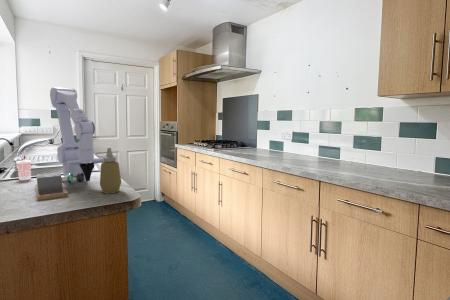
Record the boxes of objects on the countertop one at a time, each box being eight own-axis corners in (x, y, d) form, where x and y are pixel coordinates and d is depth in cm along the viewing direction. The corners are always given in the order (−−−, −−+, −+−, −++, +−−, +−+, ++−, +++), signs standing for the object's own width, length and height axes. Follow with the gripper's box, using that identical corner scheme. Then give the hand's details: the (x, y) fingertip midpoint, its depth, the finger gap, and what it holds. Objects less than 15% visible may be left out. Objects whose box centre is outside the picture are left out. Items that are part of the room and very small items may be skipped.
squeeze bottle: (100, 195, 105) (98, 149, 103) (99, 190, 112) (97, 147, 110) (122, 193, 108) (121, 148, 106) (120, 188, 115) (118, 146, 113)
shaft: (82, 182, 118) (81, 170, 118) (84, 184, 114) (84, 172, 114) (41, 187, 109) (40, 175, 109) (42, 189, 106) (41, 177, 105)
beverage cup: (34, 177, 137) (32, 150, 136) (30, 179, 131) (28, 151, 130) (19, 178, 135) (17, 150, 134) (15, 180, 129) (12, 151, 128)
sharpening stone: (61, 185, 121) (60, 169, 120) (68, 196, 104) (66, 178, 103) (35, 188, 115) (34, 172, 115) (37, 200, 98) (36, 181, 97)
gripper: (67, 151, 108) (70, 184, 110) (106, 149, 117) (107, 180, 118) (65, 150, 114) (67, 181, 115) (102, 147, 123) (103, 177, 124)
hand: (87, 180), depth 117 cm, fingers closed
